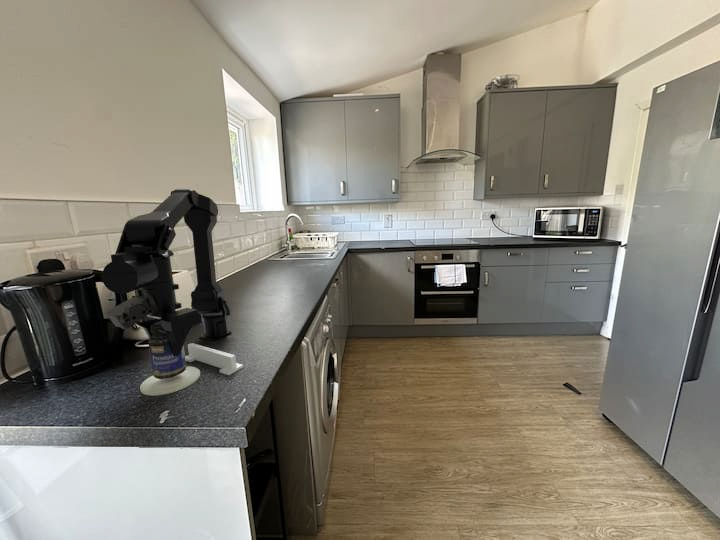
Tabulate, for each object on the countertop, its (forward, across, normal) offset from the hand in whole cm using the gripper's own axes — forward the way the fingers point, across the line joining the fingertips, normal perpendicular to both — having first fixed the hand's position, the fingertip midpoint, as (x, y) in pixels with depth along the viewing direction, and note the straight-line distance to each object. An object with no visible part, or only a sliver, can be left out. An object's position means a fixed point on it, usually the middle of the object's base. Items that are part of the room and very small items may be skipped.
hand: (167, 352), depth 63 cm
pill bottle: (+5, 0, 0) cm, 5 cm away
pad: (+6, 0, 0) cm, 6 cm away
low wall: (+6, +1, +9) cm, 11 cm away
